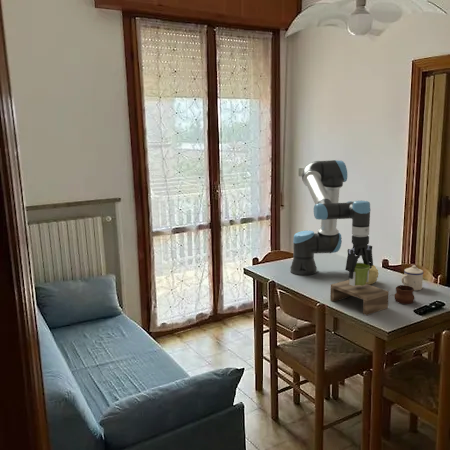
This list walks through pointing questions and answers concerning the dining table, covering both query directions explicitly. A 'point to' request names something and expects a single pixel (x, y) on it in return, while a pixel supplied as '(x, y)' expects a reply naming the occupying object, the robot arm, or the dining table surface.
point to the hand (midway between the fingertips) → (358, 283)
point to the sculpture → (372, 275)
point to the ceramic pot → (404, 294)
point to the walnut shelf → (361, 295)
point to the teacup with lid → (413, 277)
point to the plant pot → (361, 273)
